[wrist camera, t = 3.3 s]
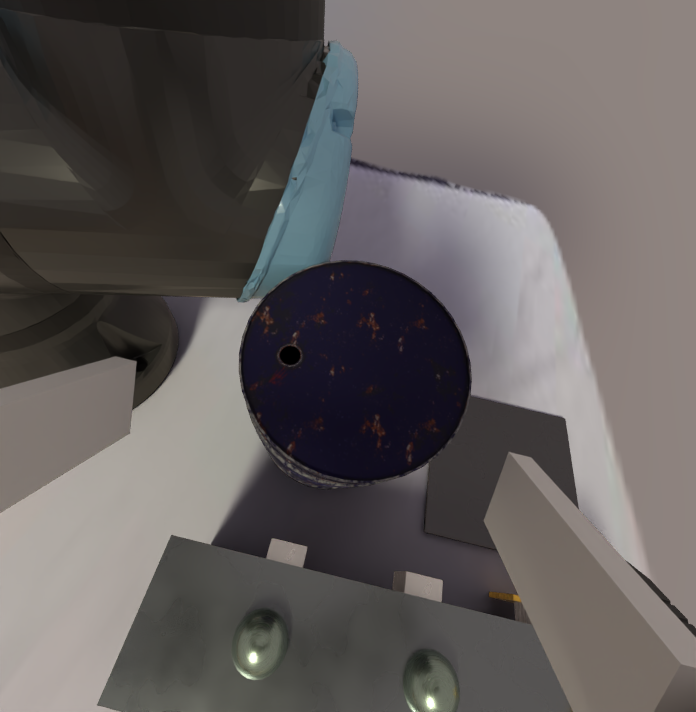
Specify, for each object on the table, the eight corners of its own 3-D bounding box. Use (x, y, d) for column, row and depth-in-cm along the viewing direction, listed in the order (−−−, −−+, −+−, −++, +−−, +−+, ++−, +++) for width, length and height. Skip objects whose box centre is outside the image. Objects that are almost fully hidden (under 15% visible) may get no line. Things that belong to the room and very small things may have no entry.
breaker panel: (166, 659, 20) (80, 716, 12) (282, 353, 32) (275, 283, 24) (614, 775, 20) (819, 909, 12) (563, 420, 31) (648, 370, 24)
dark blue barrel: (382, 369, 30) (458, 267, 17) (389, 488, 27) (493, 484, 13) (267, 364, 29) (246, 249, 15) (257, 490, 25) (219, 488, 11)
